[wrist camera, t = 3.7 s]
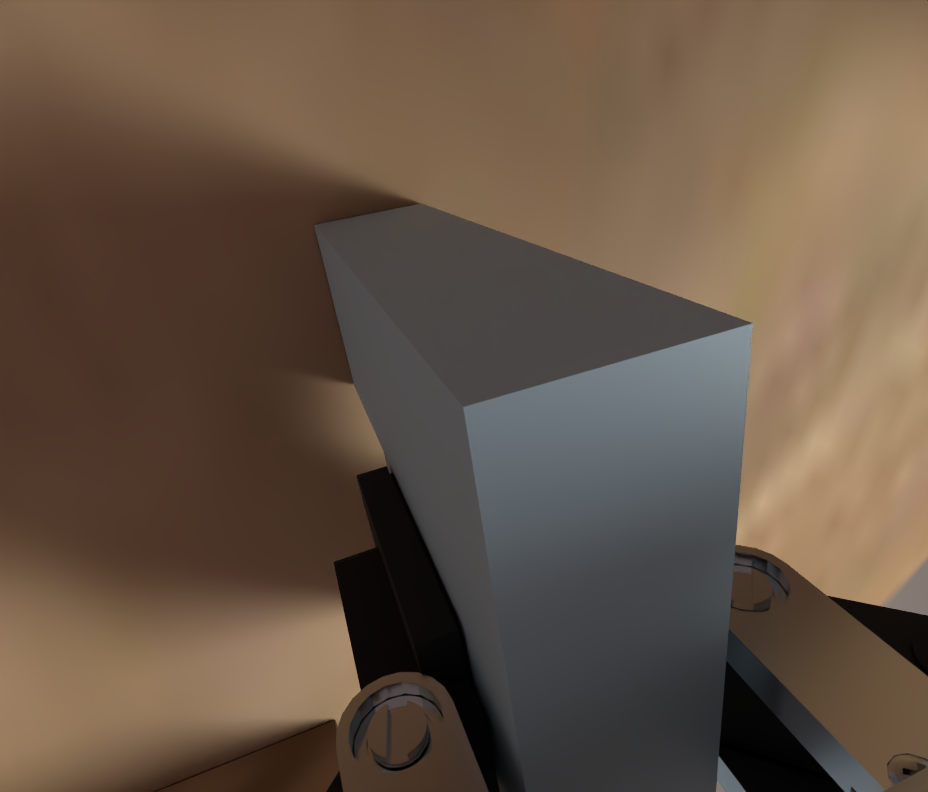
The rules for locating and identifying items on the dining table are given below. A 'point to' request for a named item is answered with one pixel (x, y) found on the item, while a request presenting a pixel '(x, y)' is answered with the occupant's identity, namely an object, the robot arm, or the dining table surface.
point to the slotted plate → (558, 486)
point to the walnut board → (275, 767)
